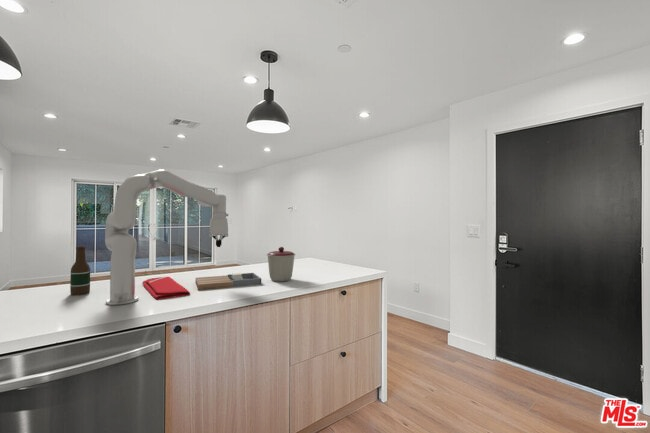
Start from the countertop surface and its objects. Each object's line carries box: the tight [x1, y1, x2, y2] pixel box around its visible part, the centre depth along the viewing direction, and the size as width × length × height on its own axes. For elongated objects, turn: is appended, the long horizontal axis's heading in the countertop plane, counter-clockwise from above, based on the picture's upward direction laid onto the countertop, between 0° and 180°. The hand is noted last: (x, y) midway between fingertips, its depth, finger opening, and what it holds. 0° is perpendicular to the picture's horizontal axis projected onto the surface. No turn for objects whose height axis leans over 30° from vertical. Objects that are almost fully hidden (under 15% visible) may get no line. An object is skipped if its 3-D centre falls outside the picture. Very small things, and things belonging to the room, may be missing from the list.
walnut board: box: [195, 274, 233, 291], centre depth 176 cm, size 20×18×3 cm
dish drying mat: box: [142, 276, 191, 300], centre depth 164 cm, size 16×41×4 cm, turn 39°
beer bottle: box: [69, 245, 91, 296], centre depth 153 cm, size 8×8×24 cm
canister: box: [266, 246, 296, 283], centre depth 191 cm, size 18×18×21 cm
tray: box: [227, 272, 262, 288], centre depth 184 cm, size 20×16×4 cm
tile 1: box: [231, 272, 243, 279], centre depth 182 cm, size 5×5×2 cm
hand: (218, 246), depth 177 cm, fingers closed
